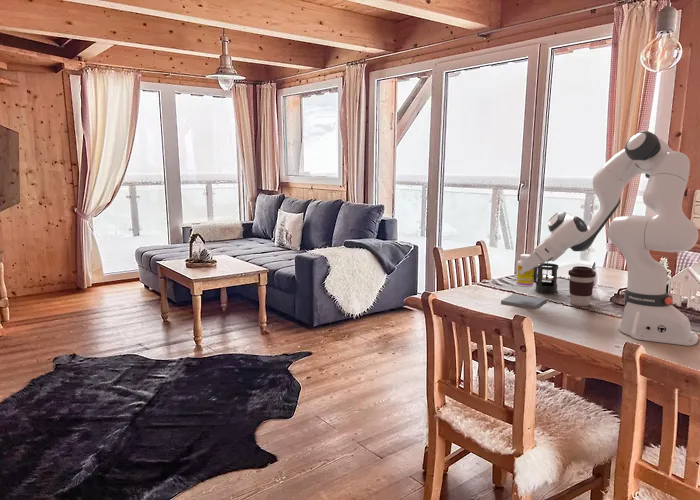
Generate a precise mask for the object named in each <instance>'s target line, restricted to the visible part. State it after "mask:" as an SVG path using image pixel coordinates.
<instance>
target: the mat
mask: <svg viewBox="0 0 700 500" xmlns="http://www.w3.org/2000/svg"><path fill="white" fill-rule="evenodd" d="M546 302H547V298H542V297H541V298H540V297H536V296H529V295H523V294H514V293H512V294H510V295H509V296H507V297H505V298H503V299H501V301H500V304H502V305H507V306H508V305H510V306H514V307H515V306H516V307H519V308H520V307H521V308H525V309H526V308H527V309H533V310H536V309H538V308H539V307H540V306H542V305H543V304H545V303H546Z"/></svg>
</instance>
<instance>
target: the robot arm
mask: <svg viewBox="0 0 700 500" xmlns="http://www.w3.org/2000/svg"><path fill="white" fill-rule="evenodd" d="M690 170H691V161H690V158H689V157H688V156H687V155H686V154H685V153H683V152H680V151H675V150H673V149H672V148H671V147H670V146H669V144H668V143H666V142H665V141H664V140H662V139H661V138H659V137H658V136H657V135H656V134H655V133H653V132H650V131H648V130H642V131H638V132H636V133H635V134H632V136H630V138H629V139H628V140H627V142H626V144H625V146H624V148H623V149H622V150H620V151H619V152H617V153H616V154H615V155H614V156H612V157H611V158H610V159H608V161H607V162H605V163H604V165H603V166H602V167H600V169H598V170H597V172H596V173H595V174H594V176H593V177H592V188H593V191H594V194H595V195H596V197H597V199H598V201H599V205H600V206H599V209H598V211H597V213H595V215H594V217H593V218H592V219H591V220H590V222H589V223H588V225H587V224H586V222H585V220H583V219H582V217H579V216H572V215H571V214H569V213H568V212H566V211H560V212H556V213H554V215H553V216H551V218H549V220H548V222H547V224H548V225H547V226H548V230H549V232H550V233H551V234H550V235H549V236H547V237H545V238H544V239H543V240H542V241H540V242H539V244H538V245H537V246H536V247H535V248H534V249H533V250H534V251H533V252H532V253H531V254H530V256H529V257H528V258H527V259H526V260H525V261H524V262H523V263H522V267H523V268H522V269H521V270H520V271H519V273H520V274H521V275H522V274H524V273H525V272H526V271H530V270H531V269H533V268H535V267H537V266H539V265H541V264H543V263H547V261H548V262H555V261H557V260H558V258H560V257H561V256H563V254H565V253H566V251H567V250H568V249H571V251H573V252H583V251H584V252H585V251H586V250H588V249H589V248H590V247H591V246H592V244H593V243H594V241H595V239H596V238H597V236H598V235H599V233H600V232H601V230H602V229H604V226H605V225H606V224H607V222H609V220H610V219H611V217H612V216H614V215H613V214H614V213H615V212H616V211H617V209H618V207H619V206H620V204H621V199H620V198H621V197H620V196H621V195H622V191H624V188H626V186H627V185H628V184H629V183H630V182H631V181H632V180H633V179H634V178H635V177H636V176H638V175H641V174H644V175H645V176H644V177H645V178H646V179H648V180H647V183H646V186H645V189H644V192H643V195H642V200H643V204H644V205H645V206H646V207H647V208H648V209H649V210H651V211H653V212H655V213H656V215H650V216H649V215H634V214H630V215H622V216H615V218H614V219H612V220H611V221H610V224H609V225H608V228H607V235H608V239H609V240H610V242H611V243H612V244H613V245H614V246H615V247H617V249H618V250H619V251H620V252H621V254H622V255H623V257H624V259H625V263H626V266H627V267H626V268H627V283H626V284H627V285H626V286H627V287H626V289H625V292H624V298H623V299H624V300H623V301H624V302H623V303H624V310H623V315H622V318H621V321H620V324H619V326H618V331H619V332H621V333H623V334H626V335H628V336H630V337H631V338H633V339H635V340H639V341H640V340H641V341H647V342H648V341H649V342H656V343H663V344H672V345H679V346H687V347H688V346H689V347H691V346H694V345H696V344H697V343H699V335H698V333H696V332H694V331H692V326H691V323H690V319H689V318H688V316H686V315H685V314H684V313H682V312H681V310H679V309H678V308H676V307H675V306H674V305H673V301H674V300H673V294H670V293H667V291H666V290H667V280H668V271H667V268H666V267H665V266H664V265H663V264H662V263H661V262H659V261H658V260H655V259H654V258H653V257H652V255H651V253H650V251H656V252H666V253H677V252H678V253H681V252H689V251H690V250H692V249H693V248H694V247H695V245H696V244H697V243H698V239H699V230H698V227H697V226H696V224H695V223H694V222H693V221H692V220H691V219H689V217H687V216H686V214H685V212H684V211H683V199H684V195H685V192H686V188H687V185H688V183H689V176H690Z"/></svg>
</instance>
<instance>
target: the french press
mask: <svg viewBox="0 0 700 500" xmlns="http://www.w3.org/2000/svg"><path fill="white" fill-rule="evenodd" d="M558 270H559V265H558V264H556V263H552V262H551V263H550V262H549V261H547V262H545V263H543V264H541V265H539V266H537V267H535V268H534V282H533V284H535V289H534V291H535V292H536V293H537V294H538V293H539V294H545V295H546V294H547V295H554V294H558V292H559V291H558V284H557V279H558ZM543 271H546V274H543ZM548 271H551V275H549V273H548ZM550 281H551V282H550Z"/></svg>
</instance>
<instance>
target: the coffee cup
mask: <svg viewBox="0 0 700 500" xmlns="http://www.w3.org/2000/svg"><path fill="white" fill-rule="evenodd" d="M567 273H568V276H569V281H568V282H569V296H570V297H569V299H570V300H569V301H570V302H569V303H570V304H571V305H573V306H577V307H579V306H580V307H588V306H590V304H591V299H592V296H593V291H594V289H593V288H594V282H595V281H594V279H595V277H596V275H597V273H596V272H595V271H594V270H593V269H592V267H590V266H582V265H577V266H576V265H575V266H573V267H572V269H570V270H568V272H567Z"/></svg>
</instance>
